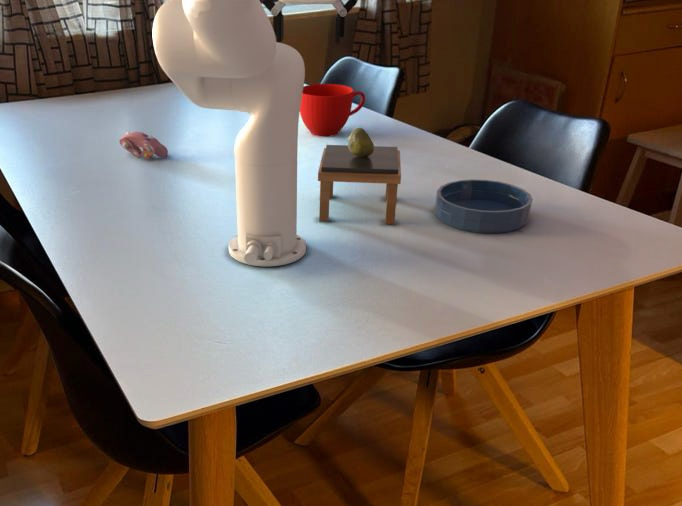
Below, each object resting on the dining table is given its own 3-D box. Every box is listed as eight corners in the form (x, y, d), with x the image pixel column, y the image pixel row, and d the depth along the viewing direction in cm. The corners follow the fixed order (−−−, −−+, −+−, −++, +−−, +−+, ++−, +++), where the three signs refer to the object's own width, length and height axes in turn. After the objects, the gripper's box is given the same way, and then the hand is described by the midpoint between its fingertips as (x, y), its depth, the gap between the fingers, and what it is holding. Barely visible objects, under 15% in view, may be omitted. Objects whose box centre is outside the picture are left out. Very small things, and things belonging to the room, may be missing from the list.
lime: (350, 151, 129) (352, 123, 127) (376, 154, 128) (378, 125, 125) (343, 159, 126) (344, 130, 123) (370, 162, 124) (372, 132, 122)
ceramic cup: (375, 135, 172) (378, 91, 167) (311, 143, 167) (312, 98, 162) (350, 121, 182) (352, 80, 177) (289, 129, 177) (289, 86, 172)
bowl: (535, 236, 121) (539, 214, 119) (437, 232, 123) (440, 210, 121) (520, 201, 135) (524, 181, 133) (432, 198, 137) (434, 177, 134)
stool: (396, 225, 126) (401, 170, 120) (316, 222, 127) (318, 167, 122) (395, 197, 137) (400, 146, 132) (322, 194, 139) (324, 143, 134)
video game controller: (125, 161, 162) (112, 137, 156) (135, 147, 164) (123, 123, 158) (161, 168, 158) (150, 143, 152) (171, 153, 160) (160, 128, 154)
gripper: (251, -78, 108) (253, 44, 118) (366, -79, 106) (360, 46, 115) (259, -80, 115) (261, 37, 124) (368, -80, 112) (362, 38, 122)
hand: (308, 41), depth 120 cm, fingers open, 9 cm apart
